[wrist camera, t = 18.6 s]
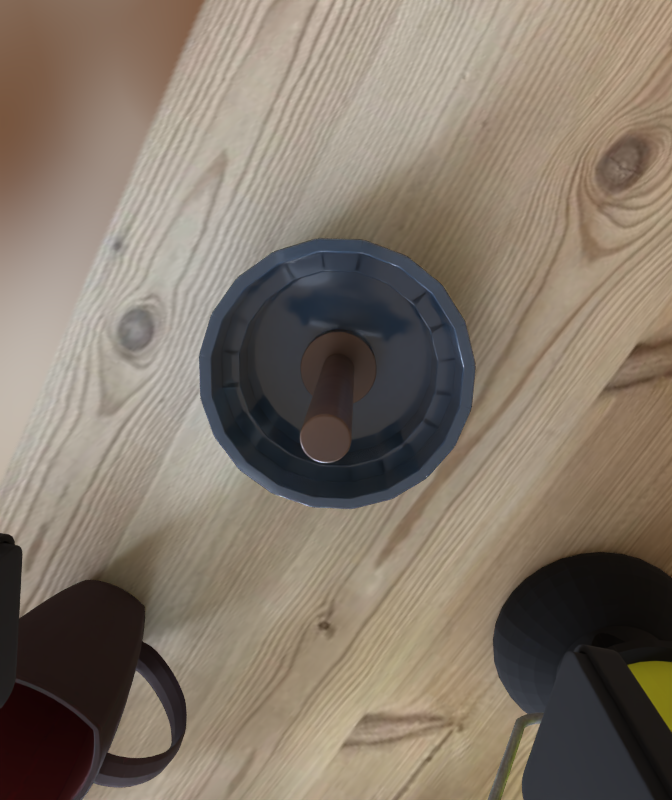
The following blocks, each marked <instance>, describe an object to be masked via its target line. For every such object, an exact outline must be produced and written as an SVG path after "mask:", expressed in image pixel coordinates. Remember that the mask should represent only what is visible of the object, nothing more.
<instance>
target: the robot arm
mask: <svg viewBox="0 0 672 800" xmlns="http://www.w3.org/2000/svg"><path fill="white" fill-rule="evenodd" d="M21 572H22V549H21V547H20V546H17V545H15V542H14V539H13V537H12V536H10V535H8V534H3V533H0V709H1V708H2V706H3V705H4V704H5V702H6V701H7V700H8V698H9V696H10V694H11V692H12V690H13V687H14V684H15V680H16V667H17V648H18V629H19V610H20V591H21ZM522 793H523V799H524V800H672V732H671V730H670V729H669V727H668V726H667V724H666V723H665V721H664V720H663V718H662V717H661V715H660V714H659V712H658V711H657V709H656V708H655V706H654V705H653V703H652V702H651V700H650V699H649V697H648V696H647V694H646V693H645V691H644V690H643V688H642V687H641V685H640V684H639V682H638V681H637V679H636V678H635V676H634V675H633V673H632V672H631V670H630V669H629V667H628V666H627V664H626V663H625V661H624V660H623V658H622V657H621V655H620V654H619V653H618V652H616V651H614V650H610V649H605V648H599V647H594V646H589V645H584V644H581V645H578V646H577V647H576V648H575V650H574V652H573V651H568V652H567V653H566V654H565V655H564V657H563V660H562V663H561V666H560V669H559V671H558V674H557V677H556V680H555V683H554V686H553V689H552V692H551V695H550V698H549V700H548V703H547V706H546V709H545V712H544V715H543V718H542V721H541V724H540V727H539V729H538V732H537V735H536V738H535V741H534V744H533V747H532V750H531V753H530V756H529V758H528V761H527V764H526V767H525V770H524V773H523V778H522Z"/></svg>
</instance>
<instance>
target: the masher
mask: <svg viewBox="0 0 672 800" xmlns="http://www.w3.org/2000/svg"><path fill="white" fill-rule="evenodd" d="M300 368H301V377H302V381H303V383H304V386H305V387H306V389H307V390H308V392H309V393H310V394H311V395H312V396H313V397H312V399H311V402H310V405H309V408H308V411H307V414H306V417H305V420H304V423H303V426H302V429H301V432H300V443H301V447H302V449H303V451H304V452H305V453H306V455H308V456H309V457H310V458H311V459H313V460H315V461H317V462H321V463H331V462H335V461H337V460H339V459H341V458H342V457H343V456H344V455H345V454H346V453H347V452H348V450H349V448H350V445H351V440H352V414H353V403H355V402H357V401H359V400H361V399H362V398H363V397H364V396H365V395H366V394H367V393H368V392H369V391H370V389H371V388H372V386H373V384H374V381H375V377H376V360H375V356H374V353H373V351H372V349H371V347H370V345H369V344H368V343H367V342H366V341H365V340H364V339H363V338H362V337H361V336H359V335H357V334H356V333H353V332H351V331H347V330H341V329H340V330H330V331H327V332H324V333H322V334H320V335H319V336H317V337H316V338H315V339H313V340H312V342H311V343H310V344H309V345H308V347H307V348H306V350H305V352H304V354H303V357H302V360H301V367H300Z"/></svg>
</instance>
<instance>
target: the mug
mask: <svg viewBox="0 0 672 800" xmlns="http://www.w3.org/2000/svg"><path fill="white" fill-rule="evenodd" d="M144 622H145V607H144V606H143V605H142V604H141V603H140V602H139V601H138V600H137V599H136V598H135V597H133V596H132V595H131V594H129V593H128V592H126V591H124V590H123V589H121V588H119V587H117V586H114V585H111V584H109V583H105V582H101V581H96V580H85V581H82V582H80V583H77V584H75V585H73V586H71V587H69V588H67V589H65V590H63V591H61V592H59V593H58V594H56V595H54V596H53V597H51V598H49V599H48V600H46V601H45V602H43V603H42V604H40V605H39V606H37V607H36V608H34V609H33V610H31V611H30V612H28V613H27V614H25V615H24V616H22V617H21V618H20V619H19V629H18V648H17V667H16V680H15V684H14V687H13V690H12V692H11V694H10V696H9V698H8V700H7V701H6V702H5V704H4V705H3V706H2V708H1V709H0V800H82V799H83V798H84V797H85V795H86V794H87V792H88V791H89V789H90V788H91V786H92V784H93V783H95V784H98V785H102V786H108V787H130V786H134V785H138V784H141V783H144V782H147V781H149V780H151V779H152V778H154V777H156V776H157V775H158V774H159V773H161V772H162V771H163V770H164V768H165V767H166V766H167V765H168V764H169V762H170V761H171V760H172V759H173V758H174V756H175V755H176V753H177V752H178V750H179V748H180V746H181V743H182V740H183V737H184V734H185V730H186V716H187V714H186V703H185V699H184V695H183V693H182V690H181V688H180V685H179V683H178V681H177V679H176V677H175V676H174V674H173V672H172V671H171V669H170V668H169V666H168V665H167V663H166V662H165V661H164V660H163V658H162V657H161V656H160V655H159V654H158V653H157V651H156V650H154V649H153V648H152V647H151V646H150V645H148V644H146V643H144V642H142V639H143V632H144ZM135 670H136V671H138V672H139V673H140V674H141V675H142V676H143V677H144V678H145V679H146V680H147V681H148V683H149V684H150V685H151V687H152V688H153V690H154V691H155V692H156V694H157V696H158V697H159V699H160V701H161V703H162V705H163V707H164V709H165V711H166V714H167V716H168V719H169V722H170V726H171V735H172V743H171V747H170V748H169V749H168V750H167V751H166V752H164V753H162V754H159V755H155V756H152V757H147V758H127V757H121V756H116V755H112V754H110V753H108V750H109V748H110V746H111V743H112V741H113V738H114V736H115V733H116V731H117V728H118V725H119V723H120V720H121V717H122V714H123V711H124V708H125V705H126V702H127V698H128V695H129V691H130V688H131V685H132V681H133V678H134V674H135Z"/></svg>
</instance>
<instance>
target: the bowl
mask: <svg viewBox="0 0 672 800" xmlns="http://www.w3.org/2000/svg"><path fill="white" fill-rule="evenodd" d="M340 329H341V330H347V331H351V332H353V333H356V334H357V335H359V336H361V337H362V338H363V339H364V340H365V341H366V342H367V343H368V344H369V345H370V347H371V349H372V351H373V353H374V356H375V360H376V377H375V381H374V384H373V386H372V388H371V389H370V391H369V392H368V393H367V394H366V395H365V396H364V397H363V398H362V399H361V400H359V401H357V402H355V403H353V414H352V440H351V445H350V448H349V450H348V452H347V453H346V454H345V455H344V456H343V457H342V458H341V459H339V460H337V461H335V462H331V463H321V462H317V461H315V460H313V459H311V458H310V457H309V456H308V455H306V453H305V452H304V451H303V449H302V447H301V443H300V432H301V429H302V426H303V423H304V420H305V417H306V414H307V411H308V408H309V405H310V402H311V399H312V397H313V396H312V395H311V394H310V393H309V392H308V390H307V389H306V387H305V386H304V383H303V381H302V377H301V368H300V367H301V360H302V357H303V354H304V352H305V350H306V348H307V347H308V345H309V344H310V343H311V342H312V340H313V339H315V338H316V337H317V336H319V335H320V334H322V333H324V332H327V331H330V330H340ZM475 369H476V366H475V360H474V355H473V351H472V347H471V343H470V338H469V334H468V330H467V326H466V323H465V320H464V319H463V317H462V316H461V314H460V312H459V311H458V309H457V308H456V306H455V304H454V303H453V301H452V300H451V298H450V296H449V295H448V293H447V292H446V290H445V288H444V287H443V285H442V284H441V283H439V282H438V281H437V280H436V279H435V278H433V277H432V276H431V275H430V274H428V273H427V272H426V271H425V270H424V269H422V268H421V267H420V266H419V265H417V264H416V263H415V262H414V261H413V260H411V259H410V258H409V257H408V256H405V255H403V254H401V253H398V252H395V251H393V250H390V249H387V248H385V247H382V246H379V245H377V244H374V243H371V242H369V241H366V240H361V239H329V238H318V239H313V240H309V241H306V242H303V243H300V244H296V245H293V246H290V247H287V248H283V249H280V250H277V251H274V252H272V253H271V254H269V255H268V256H266V257H265V258H264V259H262V260H261V261H259V262H258V263H257V264H255V265H254V266H253V267H251V268H250V269H248V270H247V271H246V272H244V273H243V274H242V275H240V276H239V277H238V278H237V279H236V280H235V281H234V283H233V284H232V285H231V287H230V288H229V290H228V291H227V292H226V294H225V295H224V297H223V298H222V300H221V301H220V302H219V304H218V305H217V307H216V308H215V309H214V311H213V312H212V315H211V317H210V320H209V323H208V327H207V330H206V333H205V337H204V340H203V343H202V347H201V350H200V356H199V370H200V396H201V401H202V404H203V407H204V410H205V412H206V415H207V418H208V421H209V424H210V426H211V429H212V432H213V435H214V437H215V438H216V440H217V441H218V442H219V444H220V445H221V446H222V448H223V449H224V450H225V451H226V453H227V454H228V455H229V457H230V458H231V459H232V461H233V462H234V463H235V465H236V466H237V467H238V469H240V471H242V472H243V473H244V474H246V475H247V476H249V477H250V478H251V479H253V480H254V481H255V482H257V483H258V484H260V485H261V486H262V487H264V488H265V489H267V490H268V491H269V492H271V493H273V494H275V495H278V496H281V497H284V498H287V499H289V500H292V501H295V502H298V503H301V504H304V505H307V506H310V507H311V506H312V507H317V508H339V509H354V508H358V507H362V506H366V505H370V504H374V503H378V502H382V501H386V500H390V499H393V498H395V497H396V496H398V495H400V494H401V493H403V492H405V491H406V490H408V489H410V488H411V487H413V486H415V485H416V484H418V483H420V482H421V481H423V480H425V479H426V478H427V477H428V476H429V475H430V474H431V473H432V472H433V471H434V470H435V469H436V467H437V466H438V465H439V464H440V463H441V462H442V461H443V459H444V458H445V457H446V456H447V455H448V454H449V453H450V452H451V450H452V449H453V448H454V446H455V445H456V443H457V441H458V439H459V436H460V434H461V432H462V429H463V427H464V425H465V423H466V420H467V418H468V416H469V413H470V411H471V408H472V401H473V391H474V380H475Z"/></svg>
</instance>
